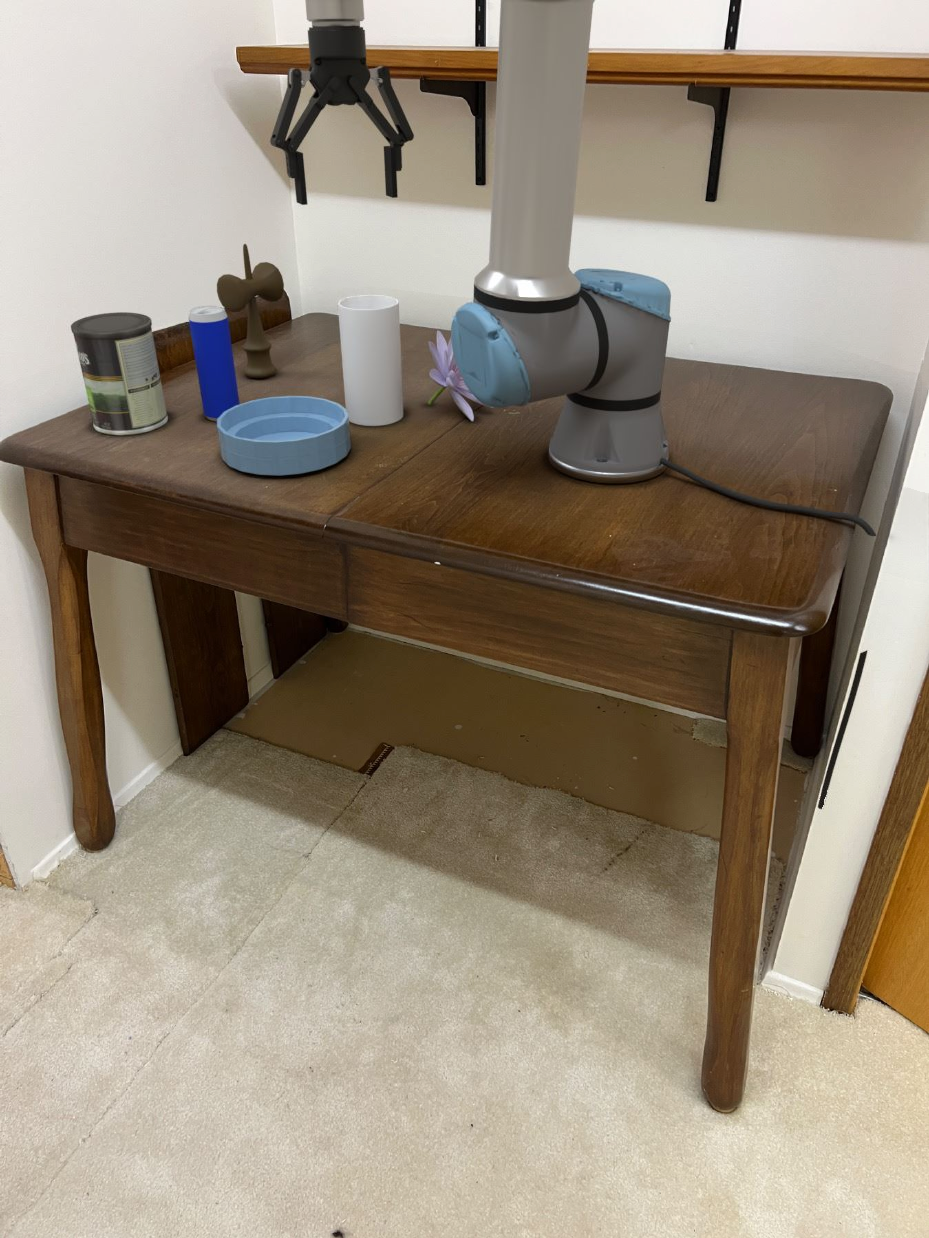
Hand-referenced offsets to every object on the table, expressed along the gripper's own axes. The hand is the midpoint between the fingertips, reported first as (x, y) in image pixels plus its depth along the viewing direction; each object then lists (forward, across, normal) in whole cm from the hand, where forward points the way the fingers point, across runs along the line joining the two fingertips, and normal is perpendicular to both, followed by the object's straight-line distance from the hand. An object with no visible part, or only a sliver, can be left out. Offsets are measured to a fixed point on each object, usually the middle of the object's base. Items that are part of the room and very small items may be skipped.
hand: (347, 200), depth 134 cm
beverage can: (+26, +23, +6) cm, 36 cm away
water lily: (+27, -9, +19) cm, 34 cm away
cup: (+27, +4, +16) cm, 31 cm away
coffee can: (+26, +36, +3) cm, 44 cm away
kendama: (+26, +13, -9) cm, 31 cm away
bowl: (+26, +19, +24) cm, 41 cm away
